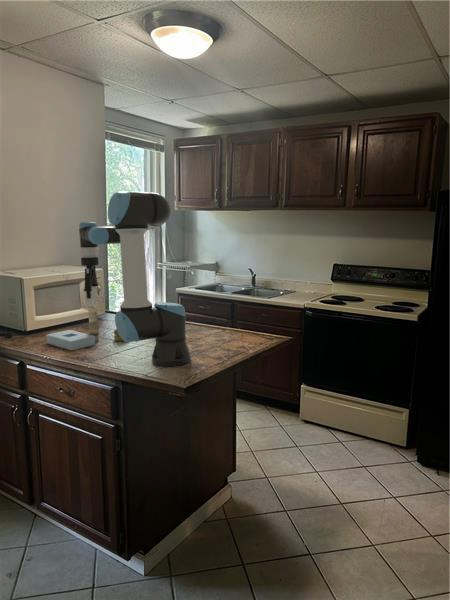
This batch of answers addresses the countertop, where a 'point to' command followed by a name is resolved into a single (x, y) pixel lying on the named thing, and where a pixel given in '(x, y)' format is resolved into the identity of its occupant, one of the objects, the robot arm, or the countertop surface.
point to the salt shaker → (117, 336)
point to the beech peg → (93, 322)
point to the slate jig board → (70, 339)
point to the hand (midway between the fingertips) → (92, 302)
